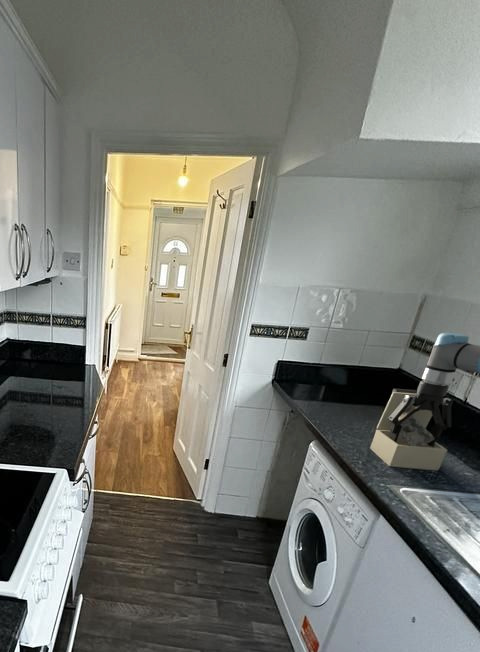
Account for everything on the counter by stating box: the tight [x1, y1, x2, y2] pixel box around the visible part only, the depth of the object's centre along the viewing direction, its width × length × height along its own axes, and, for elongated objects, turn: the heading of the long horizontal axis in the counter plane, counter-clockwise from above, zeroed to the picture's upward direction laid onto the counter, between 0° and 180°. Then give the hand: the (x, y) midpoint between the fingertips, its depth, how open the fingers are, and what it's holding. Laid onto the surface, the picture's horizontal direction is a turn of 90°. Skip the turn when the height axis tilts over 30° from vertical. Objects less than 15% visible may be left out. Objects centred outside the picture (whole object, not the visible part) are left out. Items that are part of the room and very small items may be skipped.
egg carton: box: [400, 416, 435, 447], centre depth 141 cm, size 11×8×4 cm
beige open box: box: [369, 429, 448, 471], centre depth 144 cm, size 14×16×8 cm
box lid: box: [376, 388, 433, 431], centre depth 147 cm, size 14×16×8 cm
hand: (410, 443), depth 142 cm, fingers closed on egg carton, 11 cm apart
